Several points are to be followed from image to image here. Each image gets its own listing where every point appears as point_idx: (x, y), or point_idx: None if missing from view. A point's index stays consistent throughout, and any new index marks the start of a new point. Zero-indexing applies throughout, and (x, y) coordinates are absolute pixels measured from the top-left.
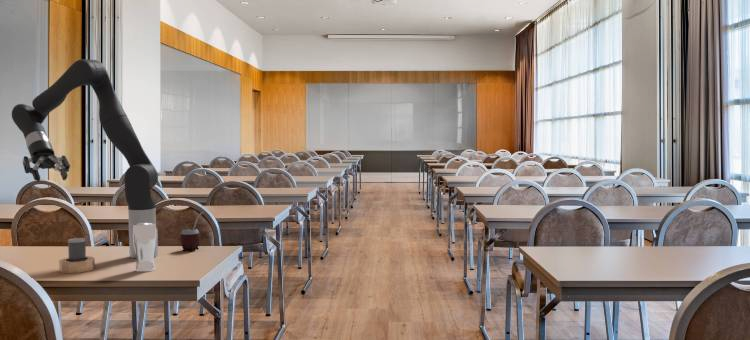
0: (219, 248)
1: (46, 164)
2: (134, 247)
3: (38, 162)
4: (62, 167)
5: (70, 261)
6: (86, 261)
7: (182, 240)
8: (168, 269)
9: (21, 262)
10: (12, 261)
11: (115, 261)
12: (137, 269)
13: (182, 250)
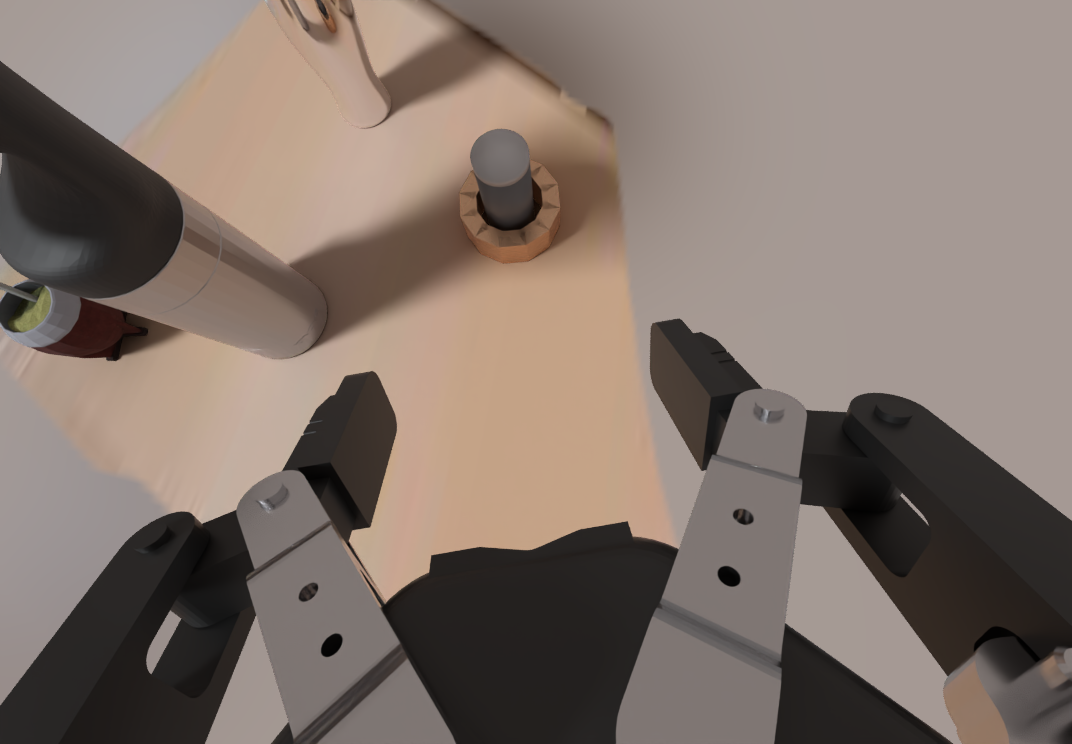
0: None
1: (558, 542)
2: (363, 41)
3: (750, 511)
4: (292, 491)
5: (533, 172)
6: None
7: (109, 310)
8: (317, 80)
9: (642, 479)
10: (668, 527)
11: (384, 286)
12: (387, 92)
13: (145, 331)
